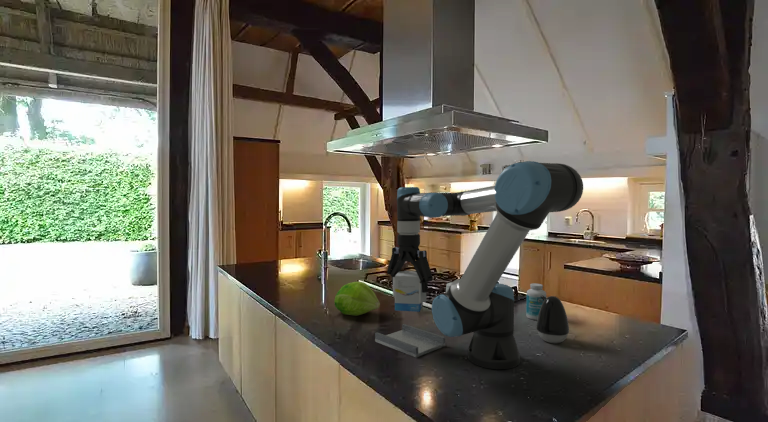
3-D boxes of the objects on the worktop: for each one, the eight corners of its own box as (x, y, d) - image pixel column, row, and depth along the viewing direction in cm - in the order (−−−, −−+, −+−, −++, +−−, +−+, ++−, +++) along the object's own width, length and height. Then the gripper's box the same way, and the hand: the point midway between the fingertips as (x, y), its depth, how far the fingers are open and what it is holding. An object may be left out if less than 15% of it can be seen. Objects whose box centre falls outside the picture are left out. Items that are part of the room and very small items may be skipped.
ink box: (420, 312, 131) (420, 276, 131) (394, 310, 133) (394, 275, 132) (423, 305, 140) (423, 271, 139) (398, 303, 141) (398, 270, 141)
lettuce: (368, 323, 159) (368, 288, 159) (325, 316, 168) (325, 284, 168) (386, 312, 173) (385, 281, 172) (345, 307, 182) (345, 277, 181)
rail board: (445, 345, 134) (445, 336, 134) (416, 357, 125) (416, 348, 125) (404, 332, 148) (404, 323, 148) (375, 341, 139) (375, 332, 139)
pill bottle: (527, 320, 161) (527, 286, 160) (525, 314, 168) (525, 282, 168) (547, 321, 159) (547, 287, 159) (544, 315, 166) (544, 283, 166)
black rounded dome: (552, 333, 145) (552, 291, 145) (575, 343, 135) (576, 298, 135) (529, 337, 141) (529, 294, 141) (551, 348, 132) (552, 301, 131)
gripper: (444, 235, 129) (444, 303, 130) (392, 230, 147) (392, 290, 147) (428, 237, 124) (428, 307, 125) (376, 232, 141) (377, 294, 142)
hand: (409, 298), depth 136 cm, fingers closed on ink box, 11 cm apart
